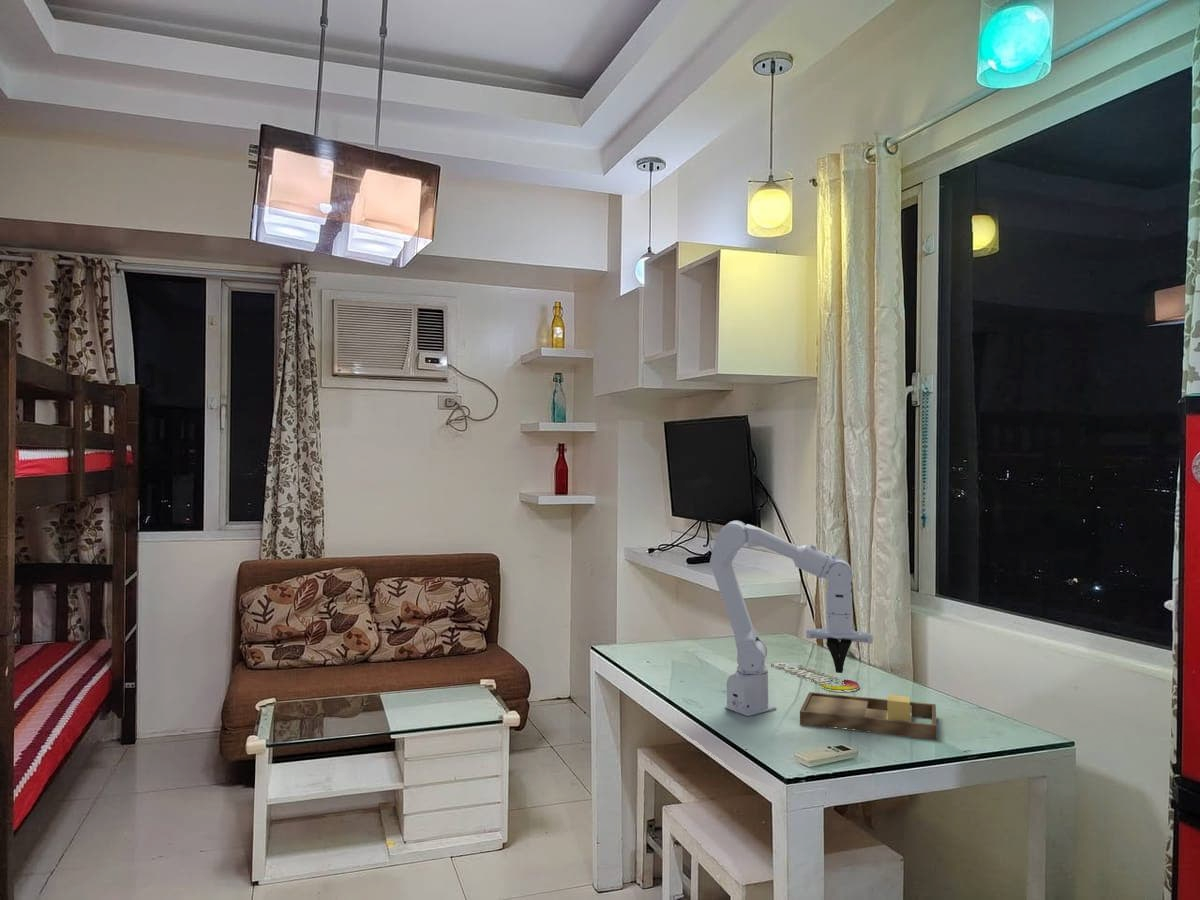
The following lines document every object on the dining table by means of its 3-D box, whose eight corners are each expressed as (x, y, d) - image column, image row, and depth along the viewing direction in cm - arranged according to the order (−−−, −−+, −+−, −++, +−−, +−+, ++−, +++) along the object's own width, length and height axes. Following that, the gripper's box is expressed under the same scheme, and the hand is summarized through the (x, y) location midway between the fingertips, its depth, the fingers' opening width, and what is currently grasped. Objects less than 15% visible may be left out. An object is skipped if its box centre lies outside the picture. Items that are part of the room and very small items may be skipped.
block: (887, 719, 177) (887, 700, 177) (888, 712, 182) (888, 694, 182) (909, 721, 176) (909, 702, 176) (910, 715, 180) (909, 696, 180)
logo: (867, 686, 208) (836, 691, 204) (867, 690, 208) (836, 695, 204) (794, 659, 235) (765, 664, 231) (794, 663, 235) (766, 668, 231)
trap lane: (799, 724, 182) (799, 711, 182) (809, 704, 196) (809, 691, 196) (936, 739, 171) (936, 725, 171) (935, 717, 186) (935, 704, 186)
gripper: (804, 613, 187) (804, 672, 187) (870, 618, 182) (871, 679, 182) (808, 608, 194) (809, 665, 194) (873, 612, 188) (873, 671, 188)
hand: (839, 671), depth 188 cm, fingers closed
